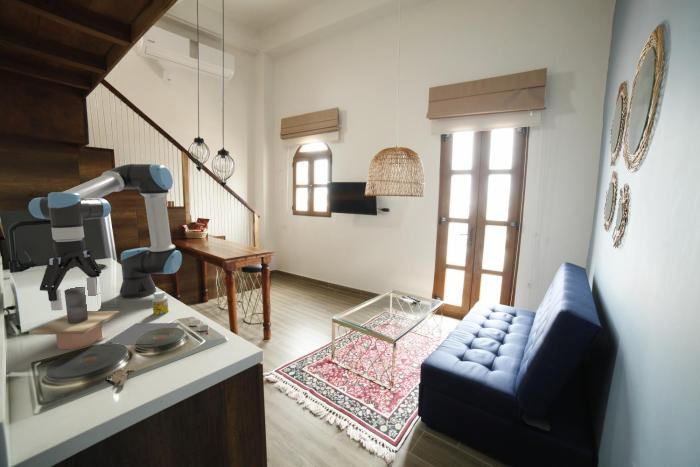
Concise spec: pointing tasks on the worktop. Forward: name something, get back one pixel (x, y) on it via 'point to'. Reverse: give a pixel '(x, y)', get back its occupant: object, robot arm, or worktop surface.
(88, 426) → the worktop surface
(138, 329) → the rubber mat
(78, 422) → the worktop surface
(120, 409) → the worktop surface
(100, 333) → the terracotta bowl
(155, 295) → the supplement bottle
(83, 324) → the oak lid
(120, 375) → the jawbone
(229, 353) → the worktop surface
